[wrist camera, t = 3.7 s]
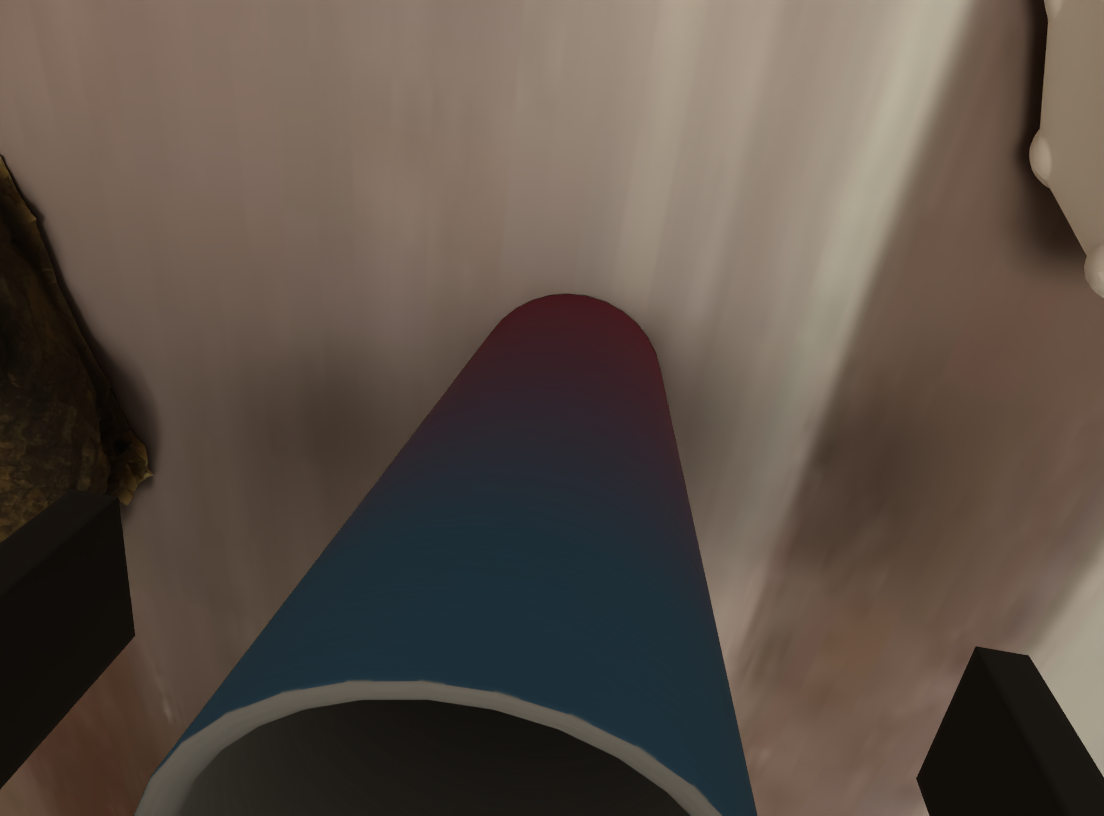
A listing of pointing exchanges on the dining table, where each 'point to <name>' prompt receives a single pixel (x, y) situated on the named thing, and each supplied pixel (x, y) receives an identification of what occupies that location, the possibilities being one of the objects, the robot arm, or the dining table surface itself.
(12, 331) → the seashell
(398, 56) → the dining table surface
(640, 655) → the cup
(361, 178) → the dining table surface
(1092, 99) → the bone shaped toy
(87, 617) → the robot arm
